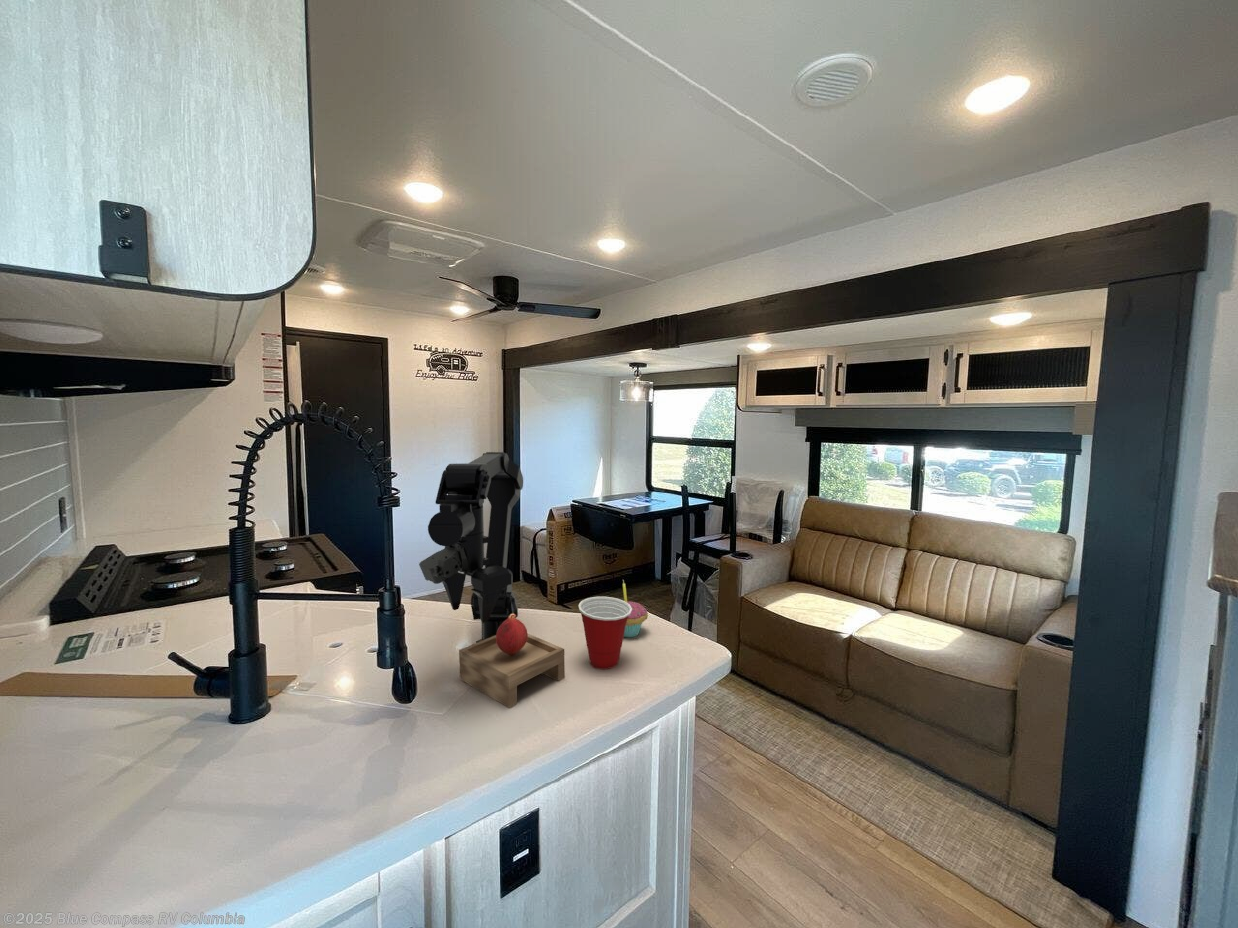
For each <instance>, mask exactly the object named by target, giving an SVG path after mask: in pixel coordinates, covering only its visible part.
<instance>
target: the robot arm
mask: <svg viewBox="0 0 1238 928" xmlns="http://www.w3.org/2000/svg"><path fill="white" fill-rule="evenodd" d="M523 488H524V476H523V473H522V471H521V467H520V466H519V465H518V464H516V463H515V462H514V461H513V460H511V459H510V458H509V455H508V453H506V452H503V451H498V452H497V451H486V452H484V453H482V455H481V456H479V457H478V458H477V457H476V458H475V459H474V460H472V461H470V462H468V463H466V462H465V463H449V464H448V465H447V466H446V467H445V469H444V470H443V472H442V473H441V478H440V482H439V486H438V489H437V495H436V497H435V505H439V512H437V513H435V514H434V515H433V516H432V517H431V518H430V520H429V522H428V525H427V531H428V535H429V537H430V539H431V540H432V541H433V542H434V543H435V544H437V545H438V546H441V547H444V548H443V549H441V550H438V551H436V552H435V553H433V554H431V555H430V556H428V557H426V558H425V559H423V560H421V561H420V562H418V563H419V568H420V570H421V573H422V575H423V577H424V580H426V581H427V582H428V581H430V582H432V583H433V584H435V585H437V584H440V583H442V585H443V587H444V589H445V592H446V594H447V598H448V600H449V603H450V606H451V608H452V610H453V611H456V610H459V609H460V605H461V602H462V596H463V593H464V586H465V583H466V576H469V577H470V583H471V587H473V588H470V591H471V592H472V594H471V596H470V597H471V598H470V606H471V608H470V609H471V612H472V617H473V620H474V621H475V620H476V621H477V620H480V621H481V639H479V640H476V641H475V643H478V642H480V641H483V640H485V639H488V638H490V637H493V636H495V635H496V634H497V630H498V628H499V626H500V625H501V624H502V623H503V622H504V621H505V620H507V619H508V617H509V616H510V614H513V613H514V614H515V615H516V617H515V618H516V619H517V618H518V617H519V608H518V605H519V604H518V600H517V598H516V597H515V594H514V592H513V585H512V584H513V572H512V571H511V570H510V569H509V568H507V564H508V555H509V554H508V552H509V541H510V529H511V519H512V510H513V507H514V506H515V505H516V504H517V502H518V501H519V499H520V496H521V491H522V490H523ZM485 500H488V501H489V504H490V513H489V521H488V534H487V536H486V535H485V532H484V530H485V528H484V524H485V523H484V503H485ZM485 544H486V550H485ZM485 551H486V552H485Z"/></svg>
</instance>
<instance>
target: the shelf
mask: <svg viewBox="0 0 1238 928" xmlns="http://www.w3.org/2000/svg"><path fill="white" fill-rule="evenodd" d="M527 635H528V637H527V642H526V644H525V645H524V647H523V648H522V649H521V650H519V651H518V652H517V653H516V654H515V655H513V656H511V655H509V654H507V653H505V652H503V651H502V650H500V648H499V647H498V645H497V643H496V635H495V636H493V637H490V638H488V639H485V640H483V641H480V642H478V643H476V642H475V643H473V644H470V645H468V646H465V647H463V648H461V649H458V655H459V656H458V657H459V659H458V661H459V679H460V680H461V681H463V682H465V683H466V684H468V685H469V686H472V687H473V688H475V689H477V690H478V691H480V692H482V693H483V694H484V695H486V696H488V697H490V698H492V699H494V700H495V701H497V702H499V703H500V704H502V705H503V706H505V707H507V708H508V709H511V708H513V707H515V706H516V705H517V704H518V691H517V690H518V688H517V687H518V686H519V685H521V684H523V683H525V682H526V681H528V680H531V679H532V678H534V677H537V676H538V675H540V674H543V675H545V676H547V677H549V678H551V679H553V680H555V681H558V682H559V681H561V680H563V679H565V677H566V675H565V674H566V673H565V671H566V670H565V669H566V668H565V667H566V666H565V660H566V659H565V648H564V647H561V646H558V645H556V644H554V643H551V642H549V641H547V640H545V639H542V638H540V637H536V636H534V635H533V634H531V633H528V632H527Z"/></svg>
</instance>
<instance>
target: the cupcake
mask: <svg viewBox="0 0 1238 928" xmlns="http://www.w3.org/2000/svg"><path fill="white" fill-rule="evenodd" d="M626 587H627V586H626V583H625V580H624V579H622V593H623V601H625V602H627V603H628V604H630V606H631V608H632V611H631V613H630V615H629V616H628V619H627V622H626V626H625V631H624V637H623V638H634V637H636V636H638V635H639V632H640V629H641V627H642V625H643V623H644V622H645V621H646V620H648V618H649V617H648V614H649V613H648V611H647V608H645V607H644V605H642V604H640V603H638V602H635V601H629V600H628V597H627V588H626Z"/></svg>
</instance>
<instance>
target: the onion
mask: <svg viewBox="0 0 1238 928" xmlns="http://www.w3.org/2000/svg"><path fill="white" fill-rule="evenodd" d="M515 617H516V615H515V614H514V613H513V614H510V616H509V617H508V619H507V620H505V621H504V622H503V623H502V624H501V625H500V626H499V628H498V630H497V634H496V643H497V645H498V647H499V648H500V650H502V651H503V652H505V653H507V654H509V655H511V656H513V655H515V654H516V653H517V652H518V651H519V650H521V649H522V648H523V647H524V645H525V644H526V642H527V637H528V635H527V633H528V629H527V628H526V625H525V624H524V623H523V621H522V620H519V619H518V618H517V617H516V618H515Z"/></svg>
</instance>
